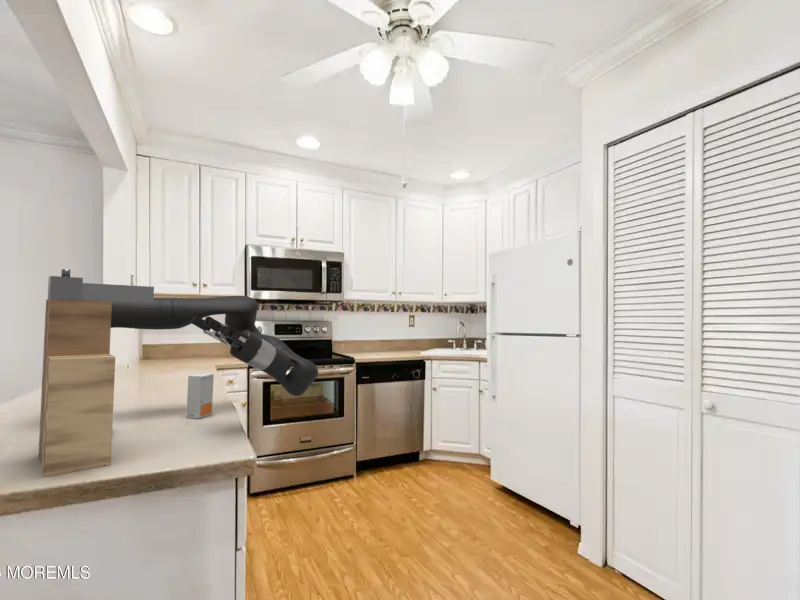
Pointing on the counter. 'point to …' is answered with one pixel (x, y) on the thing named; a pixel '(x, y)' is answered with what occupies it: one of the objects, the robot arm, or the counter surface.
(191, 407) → the skincare box
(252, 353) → the robot arm
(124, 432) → the counter surface
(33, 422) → the counter surface
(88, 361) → the upright wood plank
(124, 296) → the dark grey bar piece
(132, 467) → the counter surface
